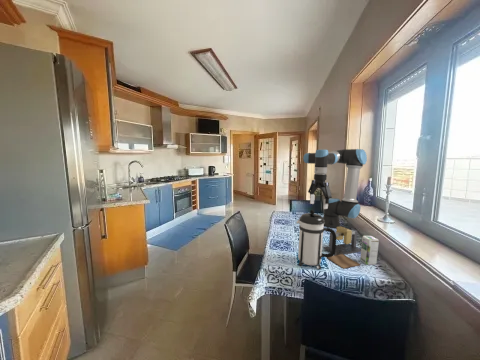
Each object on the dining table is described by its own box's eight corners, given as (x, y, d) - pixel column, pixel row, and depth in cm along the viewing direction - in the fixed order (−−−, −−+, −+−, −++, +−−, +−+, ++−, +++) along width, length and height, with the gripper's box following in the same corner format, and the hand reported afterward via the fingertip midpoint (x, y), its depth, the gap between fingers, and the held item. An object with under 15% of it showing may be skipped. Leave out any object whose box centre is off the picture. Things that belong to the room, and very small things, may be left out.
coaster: (342, 255, 122) (342, 254, 122) (360, 265, 111) (360, 264, 111) (326, 258, 118) (326, 257, 118) (343, 268, 107) (343, 267, 107)
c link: (340, 238, 132) (341, 226, 131) (350, 243, 124) (352, 230, 124) (335, 238, 131) (336, 226, 130) (345, 244, 123) (346, 231, 122)
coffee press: (309, 274, 101) (313, 215, 98) (289, 259, 116) (292, 207, 112) (335, 267, 108) (339, 212, 105) (313, 253, 123) (316, 205, 119)
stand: (348, 244, 136) (349, 227, 135) (361, 251, 127) (363, 233, 125) (323, 248, 130) (325, 230, 128) (336, 256, 120) (337, 236, 119)
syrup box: (359, 259, 117) (361, 235, 115) (369, 259, 117) (371, 235, 115) (366, 265, 111) (369, 239, 109) (376, 264, 111) (379, 239, 110)
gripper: (303, 172, 142) (302, 202, 144) (329, 175, 118) (326, 211, 121) (313, 172, 144) (311, 201, 146) (339, 175, 120) (337, 210, 123)
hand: (318, 206), depth 134 cm, fingers open, 13 cm apart
